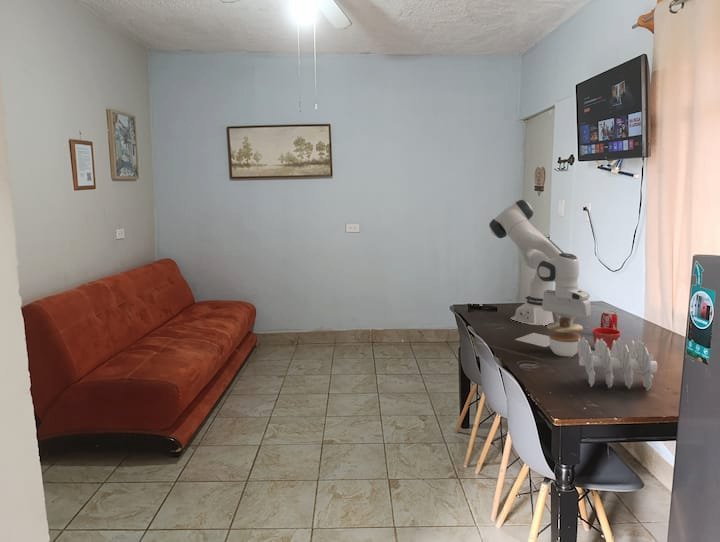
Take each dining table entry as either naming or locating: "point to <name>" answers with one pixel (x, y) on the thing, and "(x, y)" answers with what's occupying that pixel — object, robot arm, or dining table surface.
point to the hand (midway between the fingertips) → (565, 324)
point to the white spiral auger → (617, 360)
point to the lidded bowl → (564, 343)
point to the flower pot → (606, 335)
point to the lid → (564, 326)
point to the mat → (535, 339)
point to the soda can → (609, 319)
